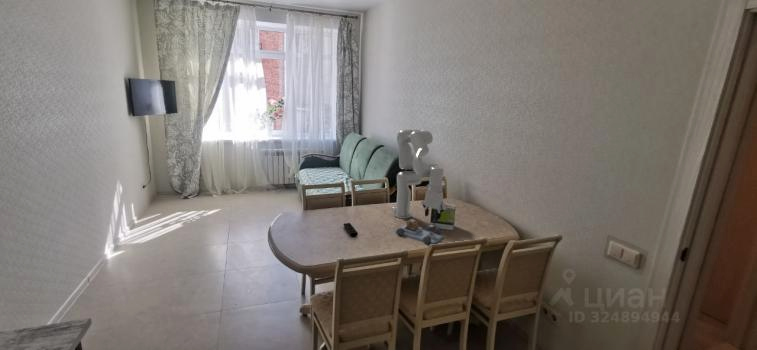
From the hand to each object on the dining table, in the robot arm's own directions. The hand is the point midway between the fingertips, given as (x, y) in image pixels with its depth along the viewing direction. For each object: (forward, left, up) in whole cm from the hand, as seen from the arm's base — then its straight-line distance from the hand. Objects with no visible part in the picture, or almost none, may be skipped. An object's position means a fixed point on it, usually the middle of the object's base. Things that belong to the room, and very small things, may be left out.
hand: (432, 217), depth 209 cm
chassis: (-8, 0, -14) cm, 16 cm away
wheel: (0, 0, -10) cm, 10 cm away
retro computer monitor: (-3, +23, -14) cm, 27 cm away
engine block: (-13, 0, -12) cm, 18 cm away
